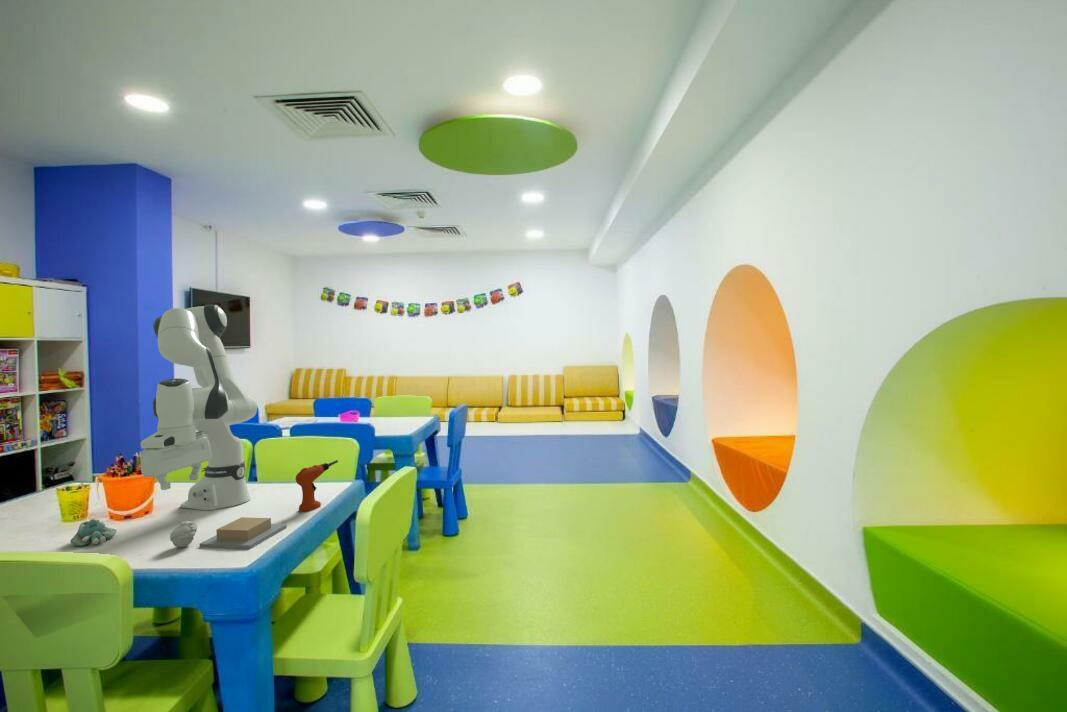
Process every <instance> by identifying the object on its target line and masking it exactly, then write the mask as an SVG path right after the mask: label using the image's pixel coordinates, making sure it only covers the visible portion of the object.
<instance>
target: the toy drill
mask: <svg viewBox="0 0 1067 712" xmlns="http://www.w3.org/2000/svg"><path fill="white" fill-rule="evenodd" d="M337 463H339V460H338V459H336V460H334V461H332V462H328V463H327V462H324V463H322V464H314V465H311V466H308V467H303V468H302V469H300V471H298V472H297V474H296V476H295V482H296V483H297V485H299V486H300V487H301V491H302V492H301V493H302V498H301V499H302V500H301V504H299V506H298V512H299V511H301V512H300V513H305V512H306V511H307V512H311V511H313V510H317V509H319V508H320V507H321V505H322V503H321V502H320V501H319V500H316V498H315V491H316V490H317V486H316V485H315V484H314V483H315V481H316V480H317V479H318V478H319V477H320V476H322V474H324V473H325V472H326V471H327V470H329V468H330V467H331V466H334V465H335V464H337ZM307 512H306V513H307Z"/></svg>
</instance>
